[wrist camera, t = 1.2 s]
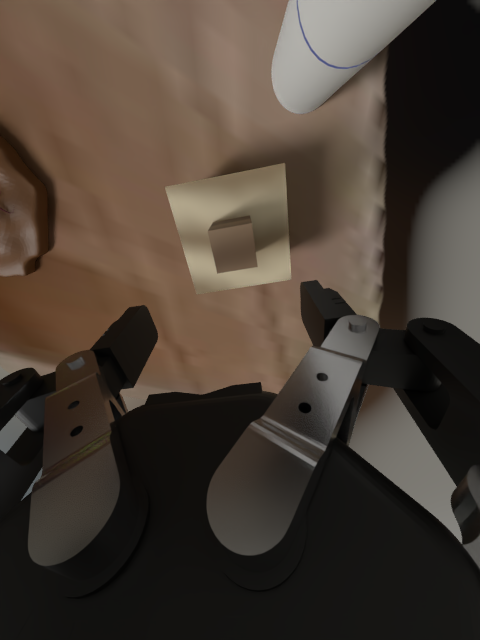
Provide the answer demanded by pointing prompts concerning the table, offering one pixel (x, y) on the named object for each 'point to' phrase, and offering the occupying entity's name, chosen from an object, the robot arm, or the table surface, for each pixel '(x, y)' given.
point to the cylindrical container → (333, 45)
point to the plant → (20, 215)
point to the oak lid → (234, 228)
